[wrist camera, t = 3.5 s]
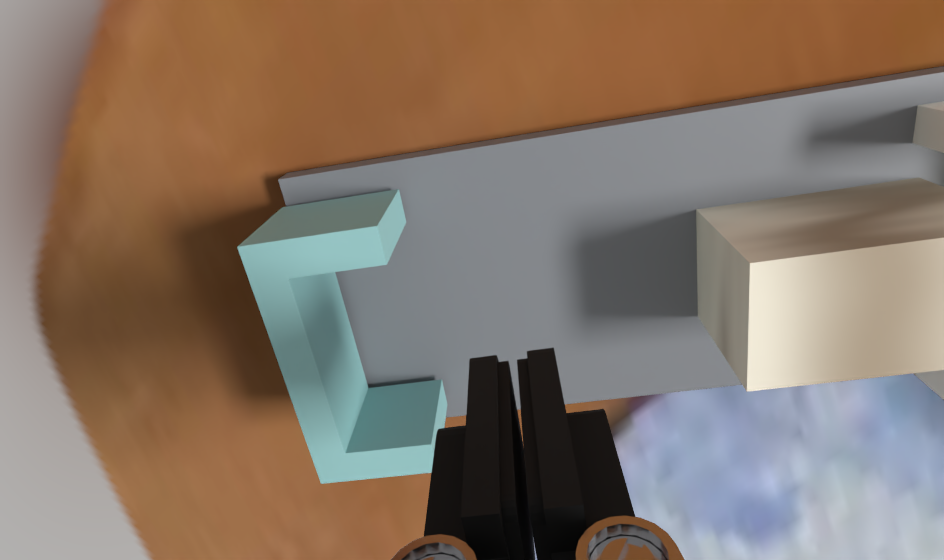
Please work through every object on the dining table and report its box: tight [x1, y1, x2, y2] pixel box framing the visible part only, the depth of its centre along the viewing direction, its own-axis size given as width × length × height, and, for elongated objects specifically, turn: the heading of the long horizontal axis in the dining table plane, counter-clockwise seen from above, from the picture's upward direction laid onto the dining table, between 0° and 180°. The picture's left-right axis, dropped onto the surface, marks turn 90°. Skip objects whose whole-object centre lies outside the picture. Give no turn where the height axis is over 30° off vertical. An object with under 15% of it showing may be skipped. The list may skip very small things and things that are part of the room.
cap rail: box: [278, 66, 944, 417], centre depth 17 cm, size 22×9×4 cm, turn 100°
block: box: [696, 178, 944, 391], centre depth 15 cm, size 6×4×4 cm, turn 100°
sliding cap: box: [237, 189, 447, 484], centre depth 17 cm, size 4×8×3 cm, turn 10°
